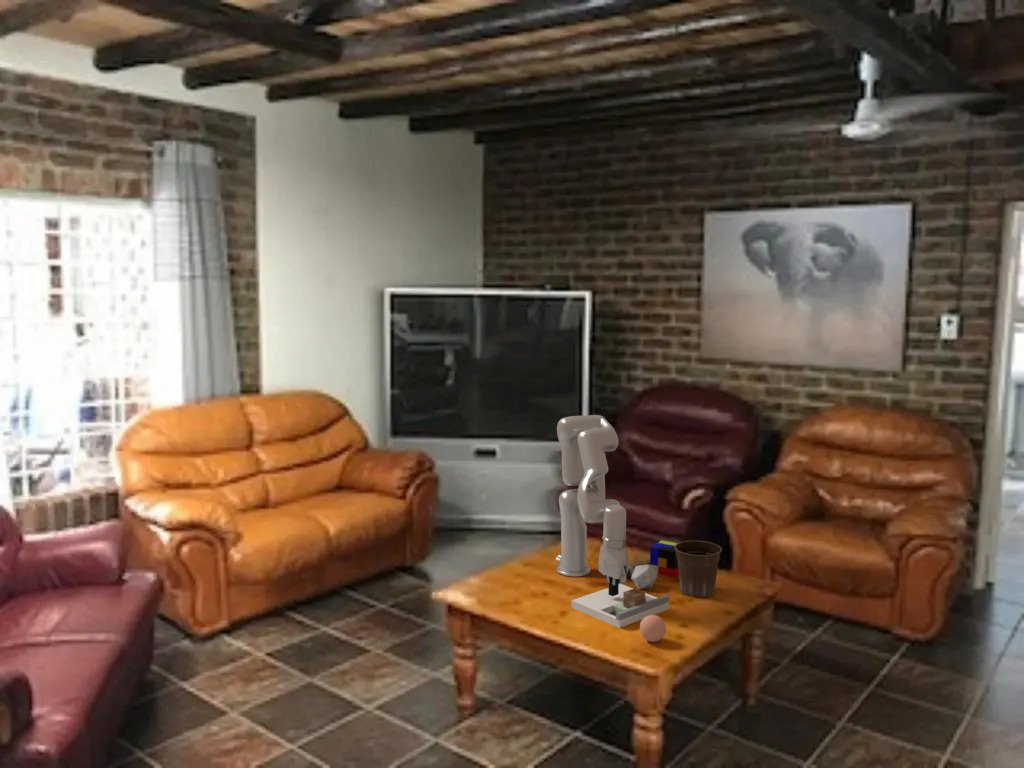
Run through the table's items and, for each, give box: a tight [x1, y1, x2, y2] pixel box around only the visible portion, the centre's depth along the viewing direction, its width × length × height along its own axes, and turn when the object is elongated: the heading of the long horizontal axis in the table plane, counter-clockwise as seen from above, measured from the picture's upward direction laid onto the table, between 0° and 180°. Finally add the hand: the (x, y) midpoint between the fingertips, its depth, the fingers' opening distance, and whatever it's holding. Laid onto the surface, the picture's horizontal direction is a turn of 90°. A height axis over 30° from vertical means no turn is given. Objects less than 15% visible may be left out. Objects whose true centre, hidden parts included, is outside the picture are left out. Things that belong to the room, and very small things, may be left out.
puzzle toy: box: [649, 540, 679, 579], centre depth 321 cm, size 10×10×10 cm
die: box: [630, 564, 658, 590], centre depth 306 cm, size 8×9×10 cm
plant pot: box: [674, 540, 723, 598], centre depth 301 cm, size 16×16×16 cm
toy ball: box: [639, 614, 667, 643], centre depth 261 cm, size 8×8×8 cm
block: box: [623, 588, 646, 609], centre depth 281 cm, size 5×5×5 cm
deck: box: [570, 583, 670, 629], centre depth 287 cm, size 22×24×4 cm
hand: (613, 594), depth 289 cm, fingers closed
